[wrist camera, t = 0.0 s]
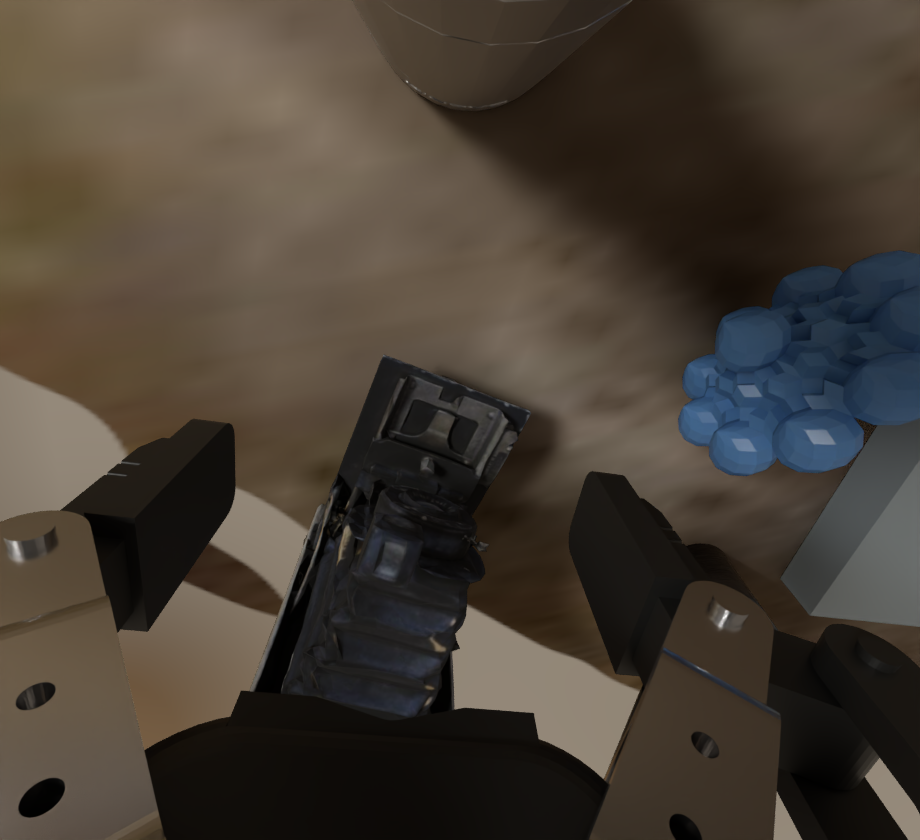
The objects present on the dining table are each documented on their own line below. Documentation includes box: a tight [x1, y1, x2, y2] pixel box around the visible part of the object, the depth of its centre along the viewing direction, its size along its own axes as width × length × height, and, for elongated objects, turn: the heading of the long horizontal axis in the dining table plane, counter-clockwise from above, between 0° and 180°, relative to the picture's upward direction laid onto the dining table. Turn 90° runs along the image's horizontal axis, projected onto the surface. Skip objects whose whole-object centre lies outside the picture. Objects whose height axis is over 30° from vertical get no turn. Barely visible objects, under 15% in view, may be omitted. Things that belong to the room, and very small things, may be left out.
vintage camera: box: [249, 355, 531, 720], centre depth 23 cm, size 10×16×20 cm, turn 157°
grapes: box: [678, 251, 920, 476], centre depth 22 cm, size 12×7×12 cm, turn 150°
